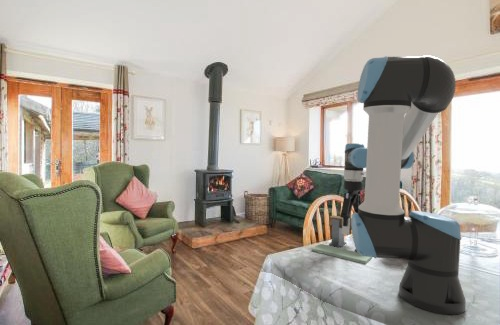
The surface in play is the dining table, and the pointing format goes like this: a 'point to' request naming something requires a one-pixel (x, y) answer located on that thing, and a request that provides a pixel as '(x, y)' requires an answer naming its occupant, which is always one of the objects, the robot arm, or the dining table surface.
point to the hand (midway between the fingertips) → (351, 230)
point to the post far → (337, 234)
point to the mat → (341, 253)
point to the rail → (338, 219)
